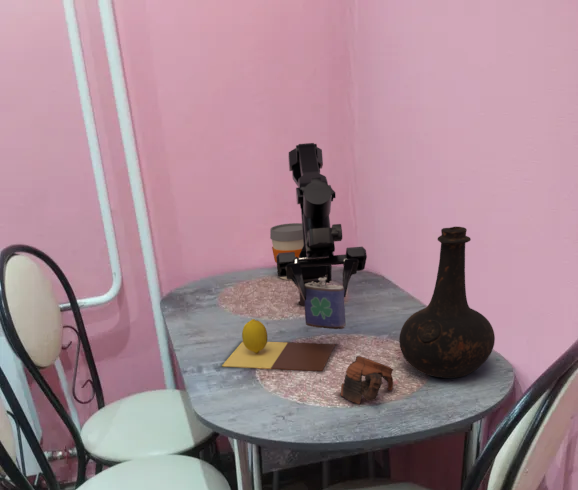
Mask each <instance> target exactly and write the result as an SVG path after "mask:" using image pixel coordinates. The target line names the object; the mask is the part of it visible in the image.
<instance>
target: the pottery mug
mask: <svg viewBox="0 0 578 490" xmlns="http://www.w3.org/2000/svg"><path fill="white" fill-rule="evenodd" d="M393 372H394V369H393V368H392V367H391V366H388V365H386V364H382V363H381V362H377V361H375V360H372V359H369V358H367V357H365V356H364V357H363V356H360V355H357V356H356V357H355V360H354V361H353V362H351V363H350V364H349V366H347V368H346V371H345V373H346V374H345V376H344V380H343V383H342V384H341V386H340V396H341V397H342V398H344V399H345V400H347V401H349V402H352V403H354V404H357V405H361V401H362V399H364V400H366V401H368V402H369V401H370V402H371V401H375V400H376V399H377V397H378V395H379V392H380V389H381V386H382V384H383V379H384V380H385V382H387V391H393V388H394V379H393V378H394V377H393V375H392V374H393ZM363 377H364V380H362V378H363ZM362 397H363V398H362Z"/></svg>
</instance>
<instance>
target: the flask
mask: <svg viewBox="0 0 578 490" xmlns="http://www.w3.org/2000/svg"><path fill="white" fill-rule="evenodd" d="M318 280H319V281H320V282H318V283H316V282H314V281H312V282H311V283H306V284H304V286H305V290H306V300H305V306H304V319H305V325H306V326H308V327H312V328H318V329H319V328H320V329H322V328H323V329H329V330H343V329H345V328H346V325H347V324H346V308H345V306H346V305H345V297H344V287H343V285H340V284H339V285H336V284H327V283H326V280H327V278H325V277H323V278H319V279H318ZM313 282H314V283H313Z"/></svg>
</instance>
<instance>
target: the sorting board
mask: <svg viewBox="0 0 578 490" xmlns="http://www.w3.org/2000/svg"><path fill="white" fill-rule="evenodd" d="M335 347H336V344H335V343H315V342H312V343H311V342H284V341H267V344H266V346H265V347H264V348H263V349H262V350H260V351H259V352H258V353H254V352H253V351H250V350H248V349H247V348H246V347H245V345H244V343H243V340H242V341H241V343H240V344H239V345H237V347H236V348H235V350H234V351H233V352H232V353H231V355H230V356H228V358H227V359H226V360H225V361H224V362H223V364H222V365H221V367H222V368H239V369H241V368H242V369H260V370H261V369H262V370H283V371H284V370H285V371H286V370H287V371H304V372H305V371H306V372H307V371H308V372H323V371H324V369H325V367H326V365H327V363H328V362H329V359H330V356H331V354H332V352H333V350H334V348H335Z"/></svg>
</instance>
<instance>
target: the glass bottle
mask: <svg viewBox="0 0 578 490" xmlns="http://www.w3.org/2000/svg"><path fill="white" fill-rule="evenodd" d="M440 232H441V235H439V236H438V237H437V241H438V242H439V243H440V249H439V250H440V251H439V262H438V269H437V274H436V280H435V284H434V285H435V286H434V289H433V292H432V296H431V298H430V301H429V303H428V305H427V306H426V307H424V308H422V309H420V310H418V311H416V312H414V313H412V314H411V315H410V316H409V317H408V318H407V319H406V320H405V322H404V323H403V325H402V327H401V329H400V332H399V337H398V339H399V340H398V341H399V349H400V352H401V354H402V356H403V358H404V359H405V361H406V362H407V363H408V364H409V365H410V366H411V367H412V368H413V369H414V370H416V371H417V372H419V373H422V374H424V375H427V376H432V377H435V378H443V379H453V378H454V379H456V378H461V377H464V376H467V375H470V374H471V373H473V372H475V371H477V370H478V369H479V368H480V367H481V366H483V365H484V363H486V361H487V360H488V359H489V357H490V356H491V355H492V352H493V350H494V347H495V340H496V337H495V335H496V334H495V330H494V328H493V325H492V324H491V322H490V321H489V320H488V319H487V317H486V316H484V315H483V314H482V313H480V312H479V311H477V310H475V309H474V308H471V307H470V306H469V303H468V298H467V291H466V289H467V288H466V244H467V243H469V242H470V241H471V240H472V239H471V237H469V236H468V235H467V228H466V227H464V226H450V227H443V228H441V230H440Z"/></svg>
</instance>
